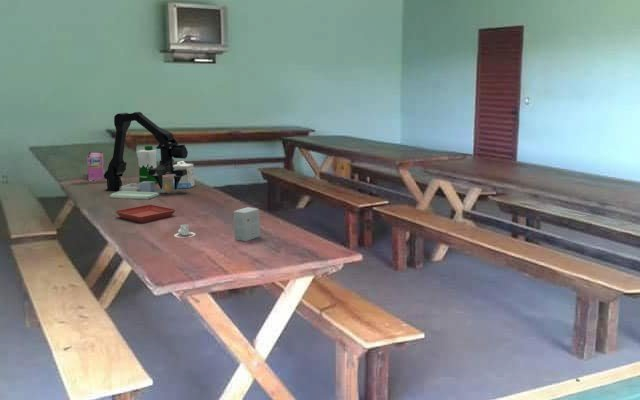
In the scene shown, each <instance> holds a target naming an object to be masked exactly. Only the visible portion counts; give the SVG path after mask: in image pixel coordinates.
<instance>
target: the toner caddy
mask: <svg viewBox="0 0 640 400" xmlns="http://www.w3.org/2000/svg"><path fill="white" fill-rule="evenodd" d="M138 184H139V187H140V190H139V192H159V194H170V193H172V190H171V183H169V182H167V183H164V189H165V190H164V189H156V184H155V181H143V182H140V183H139V182H138Z"/></svg>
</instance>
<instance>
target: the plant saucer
mask: <svg viewBox="0 0 640 400" xmlns="http://www.w3.org/2000/svg"><path fill="white" fill-rule="evenodd" d="M176 210H177V209H175V208H171V207H166V206H160V205H155V204H145V205H140V206H139V205H138V206H135V207H129V208H124V209H118V210H115V211H114V212H115V214H117V216H119V217H120V218H122V219H125V220H128V221H132V222H133V221H134V222H138V223H145V222H151V221H155V220H159V219H160V220H161V219H164V218H169V217H172V216H173V214H175V212H176Z"/></svg>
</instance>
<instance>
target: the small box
mask: <svg viewBox="0 0 640 400" xmlns="http://www.w3.org/2000/svg"><path fill="white" fill-rule="evenodd" d="M260 228H261V227H260V209H259V208H255V207H249V206H248V207H243V208H240V209H237V210H233V230H234V231H233V234H234V240H237V241H242V242H248V241H251V240H253V239H256V238H259V237H260V236H261V234H260V231H261V229H260Z"/></svg>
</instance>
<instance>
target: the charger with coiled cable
mask: <svg viewBox="0 0 640 400" xmlns="http://www.w3.org/2000/svg"><path fill="white" fill-rule="evenodd" d="M179 227H180V228H179V229H178V230H177V233H174V235H173V237H174V238H177V239H178V238H179V239H184V238H185V239H187V238H193V237H195V236H196V235H197V234H196V233H195V232H192V231H190V225H189V224H181V225H180V226H179ZM189 234H190V236H189ZM191 234H192V235H191ZM178 235H182V236H178Z"/></svg>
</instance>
